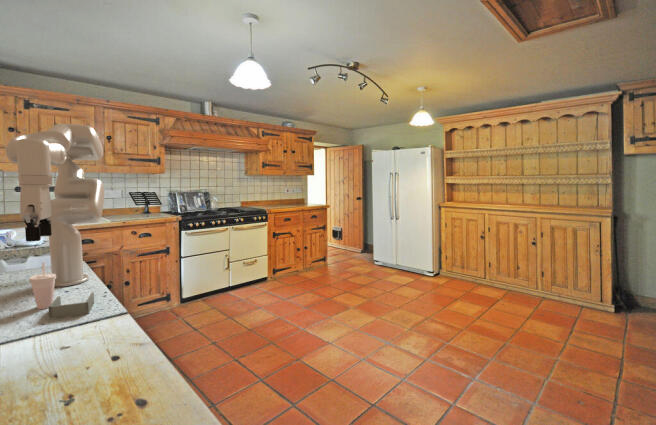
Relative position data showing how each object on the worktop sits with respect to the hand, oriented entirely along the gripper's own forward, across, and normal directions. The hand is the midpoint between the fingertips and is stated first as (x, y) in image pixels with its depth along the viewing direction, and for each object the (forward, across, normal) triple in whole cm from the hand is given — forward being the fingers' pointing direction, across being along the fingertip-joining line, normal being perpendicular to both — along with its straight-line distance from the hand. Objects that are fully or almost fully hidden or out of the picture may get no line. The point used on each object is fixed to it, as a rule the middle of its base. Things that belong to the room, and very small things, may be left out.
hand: (39, 238), depth 102 cm
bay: (+22, +6, +9) cm, 24 cm away
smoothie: (+22, -1, 0) cm, 22 cm away
